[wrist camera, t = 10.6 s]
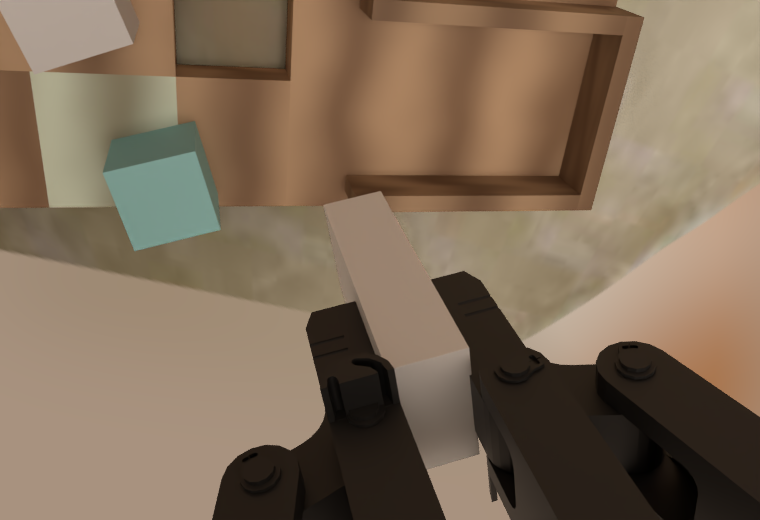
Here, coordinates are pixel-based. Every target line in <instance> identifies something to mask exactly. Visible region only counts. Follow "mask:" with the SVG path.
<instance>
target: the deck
mask: <svg viewBox="0 0 760 520" xmlns="http://www.w3.org/2000/svg"><path fill="white" fill-rule="evenodd" d="M130 1H131V3H132V6H133V8H134V10H135V13H136V15H137V17H138V20H139V22H140V23H139V27H138V30H137V33H136V36H135V40H134V43H133V44H131V45H128V46H125V47H121V48H118V49H115V50H112V51H109V52H105V53H102V54H99V55H96V56H93V57H89V58H86V59H83V60H80V61H76V62H73V63H70V64H67V65H64V66H60V67H57V68H54V69H51V70H48V71H44V72H41V73H38V74H35V75H34V73H33V71H32V69H31V68H30V66H29V64H28V62H27V60H26V58H25V56H24V54H23V53H22V51H21V49H20V47H19V45H18V43H17V41H16V39H15V38H14V36H13V34H12V32H11V30H10V28H9V26H8V24H7V23H6V21H5V19H4V17H3V15H2V13H1V11H0V208H42V207H116V205H115V202H114V200H113V197H112V195H111V192H110V190H109V187H108V185H107V183H106V180H105V178H104V175H103V169H104V166H105V162H106V159H107V155H108V151H109V148H110V144H111V141H112V140H114V139H118V138H122V137H127V136H131V135H136V134H140V133H144V132H149V131H153V130H157V129H162V128H166V127H170V126H175V125H179V124H183V123H188V122H192V121H195V123H196V126H197V129H198V132H199V135H200V138H201V142H202V145H203V148H204V151H205V154H206V157H207V161H208V164H209V167H210V170H211V173H212V176H213V180H214V183H215V186H216V189H217V192H218V200H219V206H323V205H325V204H329V203H333V202H337V201H341V200H345V199H349V198H354V197H358V196H362V195H366V194H370V193H374V192H378V191H381V192H382V194H383V196H384V198H385V200H386V201H387V203H388V205H389V207H390V208H391V210H392V212H440V211H547V210H591V209H592V205H593V201H594V198H595V194H596V191H597V187H598V183H599V180H600V176H601V172H602V169H603V165H604V162H605V158H606V154H607V151H608V147H609V143H610V140H611V136H612V132H613V129H614V125H615V122H616V118H617V114H618V111H619V107H620V103H621V100H622V96H623V93H624V89H625V85H626V82H627V78H628V74H629V71H630V67H631V64H632V60H633V56H634V53H635V49H636V45H637V42H638V38H639V35H640V31H641V27H642V24H643V20H644V17H642V16H639V15H636V14H634V13H631V12H628V11H626V10H623V9H620V8H618V7H616V4H617V0H288V6H287V36H286V65H285V69H276V68H252V67H228V66H204V65H180V64H177V60H176V36H175V13H174V0H130Z"/></svg>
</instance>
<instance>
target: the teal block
mask: <svg viewBox="0 0 760 520" xmlns="http://www.w3.org/2000/svg"><path fill="white" fill-rule="evenodd" d="M103 175H104V178H105V180H106V183H107V185H108V187H109V190H110V192H111V195H112V197H113V200H114V202H115V205H116V207H117V209H118V212H119V214H120V217H121V219H122V222H123V224H124V227H125V229H126V231H127V234H128V236H129V239H130V241H131V244H132V246H133V249H134V251H137V250H141V249H145V248H149V247H153V246H158V245H162V244H166V243H170V242H174V241H178V240H182V239H186V238H190V237H194V236H198V235H202V234H206V233H210V232H214V231H218V230H221V227H220V214H219V200H218V192H217V189H216V186H215V183H214V180H213V176H212V173H211V170H210V167H209V164H208V161H207V157H206V154H205V151H204V148H203V145H202V142H201V138H200V135H199V132H198V129H197V126H196V123H195V121H192V122H188V123H183V124H179V125H175V126H170V127H166V128H162V129H157V130H153V131H149V132H144V133H140V134H136V135H131V136H127V137H122V138H118V139H114V140H112V141H111V144H110V148H109V151H108V155H107V159H106V162H105V166H104V169H103Z"/></svg>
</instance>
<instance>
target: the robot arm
mask: <svg viewBox="0 0 760 520" xmlns="http://www.w3.org/2000/svg"><path fill="white" fill-rule="evenodd" d="M323 206H324V211H325V216H326V220H327V225H328V230H329V234H330V239H331V243H332V248H333V253H334V257H335V262H336V267H337V271H338V276H339V281H340V285H341V290H342V294H343V297H344V299H345V302H346V304H342V305H338V306H335V307H331V308H327V309H323V310H319V311H315V312H312V313H311V316H310V318H309V321H308V324H307V327H306V332H307V336H308V340H309V343H310V348H311V352H312V356H313V360H314V364H315V368H316V371H317V376H318V380H319V384H320V390H321V394H322V398H323V402H324V406H325V417H324V420H323V422H322V424H321V426H320V428H319V429H318V430H317V431H316V433H315V434H314V435H313V436H312V437H311V438H309V439H308V440H307V441H305V442H304V443H302V444H301V445H299V446H297V447H296V448H294V449H292V450H291V451H290V450H288V449H286V448H283V447H281V446H275V445H264V446H259V447H256V448H252V449H250V450H248V451H246V452H244V453H243V454H241V455H239V456H237V458H236V459H235V460H234V461H233V462H232V463H231V464H230V465H229V466H228V467H227V469H226V471H225V473H224V475H223V477H222V480H221V484H220V488H219V493H218V497H217V501H216V505H215V510H214V514H213V518H212V520H446V519H445V516H444V513H443V511H442V508H441V506H440V503H439V501H438V498H437V495H436V493H435V490H434V489H433V485H432V483H431V480H430V478H429V475H428V472H427V469H431V468H434V467H437V466H441V465H444V464H447V463H451V462H454V461H458V460H461V459H464V458H468V457H471V456H475V455H478V454H479V443H478V438H479V440H480V442H481V443H482V446H483V448H484V450H485V452H486V454H487V465H488V476H489V487H490V494H491V499H492V502H493V501H496V500H497V492H498V494H499V496H500V498H501V500H502V502H503V505H504V507H505V509H506V511H507V513H508V515H509V517H510V519H511V520H760V417H759V416H757V415H756V414H754V413H753V412H752V411H750V410H749V409H747V408H746V407H744V406H743V405H741V404H740V403H738V402H737V401H736V400H734V399H733V398H731V397H730V396H728V395H727V394H725V393H724V392H722V391H721V390H719V389H718V388H717V387H715V386H714V385H712V384H711V383H709V382H708V381H706V380H705V379H703V378H702V377H701V376H699V375H698V374H696V373H695V372H693V371H692V370H690V369H689V368H687V367H686V366H685V365H683V364H681V363H680V362H678V361H677V360H676V359H674V358H673V357H671V356H670V355H668V354H667V353H666V352H664V351H663V350H661V349H658V348H656V347H654V346H652V345H650V344H646V343H641V342H635V341H632V342H619V343H616V344H613V345H610V346H608V347H606V348H605V349H604V350H602V351H601V352H600V353H599V356H598V358H597V360H596V364H595V365H594V364H593V365H559V364H554V363H550V362H549V360H548V359H547V358H545V357H544V356H543V355H542V354H541V353H540V352H537V351H535V350H532V349H530V348H526V347H525V345H524V344H523V343H522V341H521V340H520V338H519V337H518V335H517V334H516V332H515V331H514V329H513V328H512V326H511V325H510V323H509V322H508V320H507V319H506V317H505V316H504V314H503V313H502V312H501V310H500V309H499V308H498V306H497V304H496V303H495V301H494V300H493V298H492V297H490V294H489V292H488V291H487V289H486V288H485V286H484V285H483V283H482V282H481V281H480V280H478V279H477V278H475V277H473V276H471V275H470V274H468V273H466V272H465V271H462V272H458V273H454V274H451V275H447V276H443V277H439V278H435V279H430V278H429V276H428V274H427V272H426V270H425V269H424V267H423V265H422V263H421V262H420V260H419V258H418V256H417V254H416V253H415V251H414V249H413V247H412V246H411V244H410V242H409V240H408V239H407V237H406V235H405V233H404V231H403V230H402V228H401V226H400V224H399V223H398V221H397V219H396V217H395V216H394V214H393V212H392V210H391V208H390V207H389V205H388V203H387V201H386V200H385V198H384V196H383V194H382V192H381V191H378V192H374V193H370V194H366V195H362V196H358V197H354V198H349V199H345V200H341V201H337V202H333V203H329V204H325V205H323Z"/></svg>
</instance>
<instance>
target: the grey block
mask: <svg viewBox="0 0 760 520" xmlns="http://www.w3.org/2000/svg"><path fill="white" fill-rule="evenodd" d="M0 11H1V13H2V15H3V17H4V19H5V21H6V23H7V24H8V26H9V28H10V30H11V32H12V34H13V36H14V38H15V39H16V41H17V43H18V45H19V47H20V49H21V51H22V53H23V54H24V56H25V58H26V60H27V62H28V64H29V66H30V68H31V69H32V71H33V73H34V75H35V74H38V73H41V72H44V71H48V70H51V69H54V68H57V67H60V66H64V65H67V64H70V63H73V62H76V61H80V60H83V59H86V58H89V57H93V56H96V55H99V54H102V53H105V52H109V51H112V50H115V49H118V48H121V47H125V46H128V45H131V44H133V43H134V40H135V36H136V33H137V30H138V27H139V23H140V22H139V20H138V17H137V15H136V13H135V10H134V8H133V6H132V3H131V1H130V0H0Z"/></svg>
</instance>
